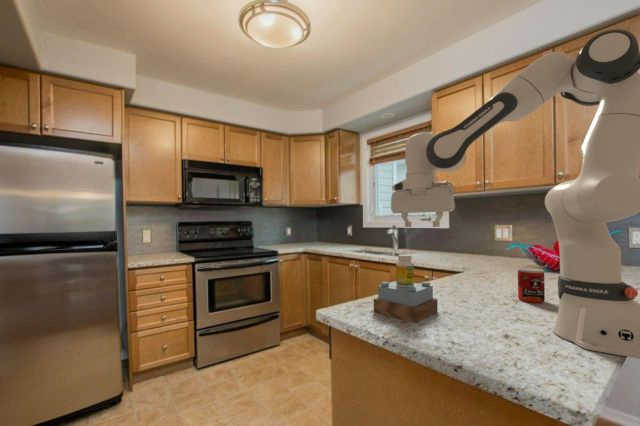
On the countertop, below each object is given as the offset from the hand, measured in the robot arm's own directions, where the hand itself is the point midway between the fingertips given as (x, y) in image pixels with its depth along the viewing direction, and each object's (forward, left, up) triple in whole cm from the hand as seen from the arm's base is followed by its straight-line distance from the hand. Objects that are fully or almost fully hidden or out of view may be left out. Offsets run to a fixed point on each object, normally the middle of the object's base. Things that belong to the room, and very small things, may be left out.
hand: (421, 226), depth 96 cm
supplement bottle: (+2, +7, -19) cm, 20 cm away
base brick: (+2, +7, -26) cm, 27 cm away
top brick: (+2, +7, -22) cm, 23 cm away
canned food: (-23, -35, -27) cm, 50 cm away
